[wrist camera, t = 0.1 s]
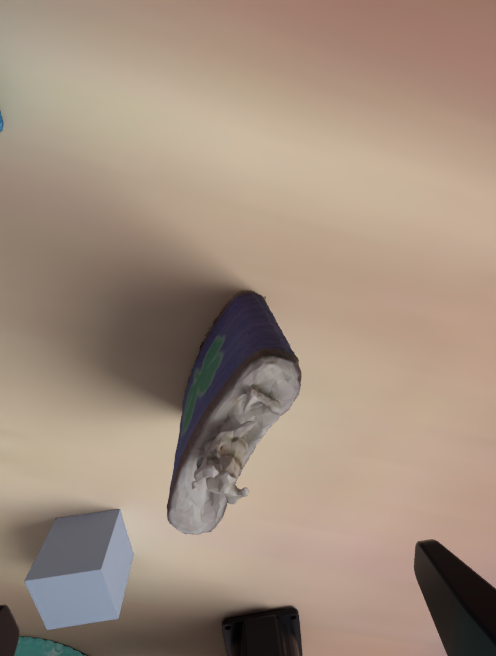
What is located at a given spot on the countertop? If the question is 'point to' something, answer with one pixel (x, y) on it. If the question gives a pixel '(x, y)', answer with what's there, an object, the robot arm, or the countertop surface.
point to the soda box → (1, 123)
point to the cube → (81, 570)
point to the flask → (229, 409)
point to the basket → (43, 648)
